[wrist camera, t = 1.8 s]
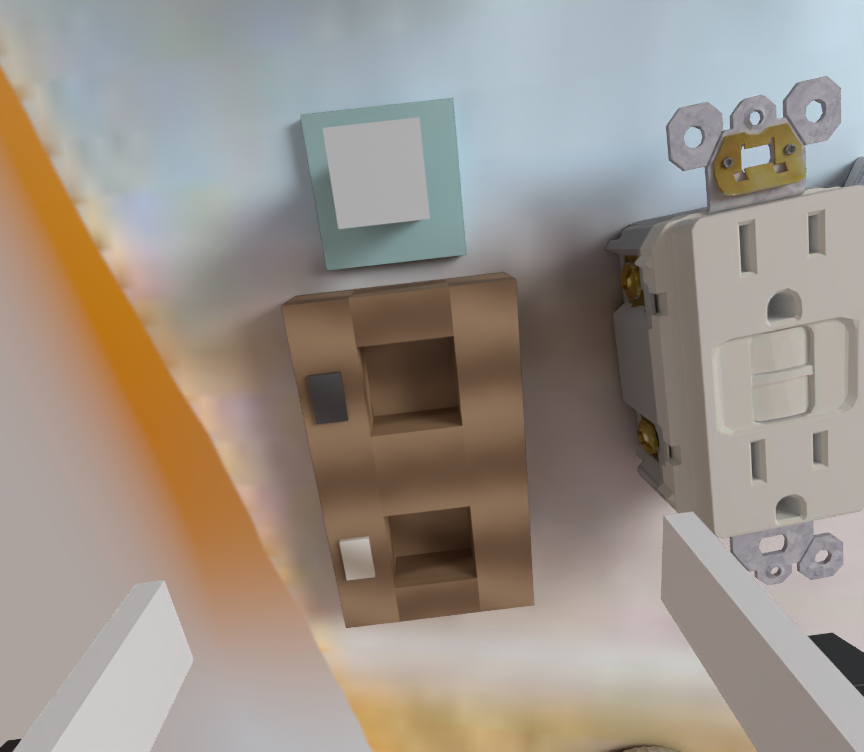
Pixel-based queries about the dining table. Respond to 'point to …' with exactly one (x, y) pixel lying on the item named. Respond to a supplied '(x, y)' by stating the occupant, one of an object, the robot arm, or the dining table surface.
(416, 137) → the plug
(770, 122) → the electrical outlet
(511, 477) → the socket board
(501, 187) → the dining table surface
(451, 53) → the dining table surface
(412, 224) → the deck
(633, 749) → the canister
